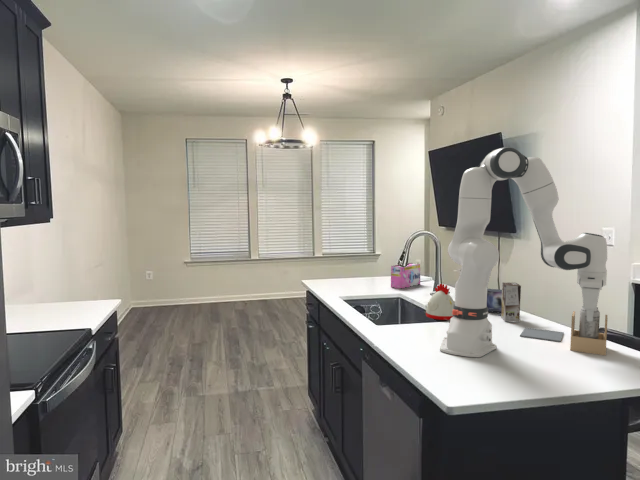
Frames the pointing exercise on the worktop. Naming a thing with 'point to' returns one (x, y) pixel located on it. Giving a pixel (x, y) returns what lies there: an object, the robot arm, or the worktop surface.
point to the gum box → (405, 275)
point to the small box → (494, 300)
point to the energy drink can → (589, 324)
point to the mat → (542, 334)
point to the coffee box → (511, 302)
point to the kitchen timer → (440, 304)
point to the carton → (588, 340)
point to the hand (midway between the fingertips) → (590, 318)
